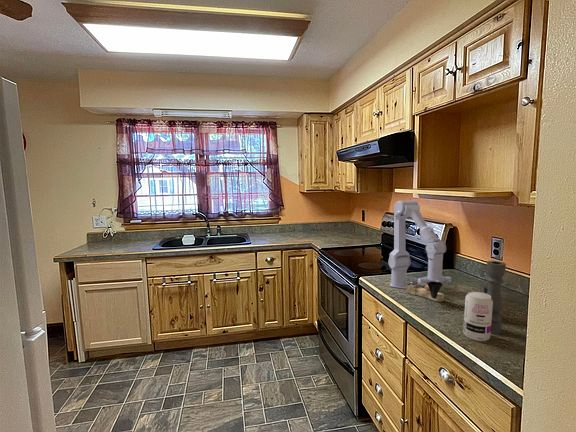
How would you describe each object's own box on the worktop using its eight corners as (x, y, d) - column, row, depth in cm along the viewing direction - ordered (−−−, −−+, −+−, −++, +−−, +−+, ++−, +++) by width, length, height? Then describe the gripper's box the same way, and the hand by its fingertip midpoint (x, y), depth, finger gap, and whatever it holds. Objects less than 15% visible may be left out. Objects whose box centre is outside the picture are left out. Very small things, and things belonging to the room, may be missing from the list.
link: (406, 292, 155) (406, 286, 155) (411, 290, 158) (411, 284, 157) (439, 302, 142) (440, 296, 142) (444, 300, 145) (445, 293, 145)
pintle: (409, 291, 157) (410, 280, 156) (417, 292, 155) (417, 281, 155) (408, 293, 154) (409, 282, 153) (416, 294, 152) (416, 283, 152)
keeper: (423, 297, 150) (424, 286, 149) (427, 293, 154) (427, 283, 154) (430, 298, 148) (431, 287, 147) (434, 294, 152) (434, 284, 152)
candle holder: (478, 329, 118) (483, 262, 115) (485, 324, 122) (490, 259, 119) (497, 335, 114) (502, 266, 110) (504, 330, 117) (509, 263, 114)
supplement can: (478, 329, 118) (480, 290, 116) (495, 341, 110) (499, 298, 108) (457, 331, 117) (460, 291, 115) (474, 343, 108) (477, 300, 107)
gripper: (424, 271, 137) (423, 302, 139) (456, 270, 139) (454, 300, 141) (415, 266, 144) (414, 296, 146) (446, 265, 146) (444, 294, 148)
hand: (433, 297), depth 144 cm, fingers closed
